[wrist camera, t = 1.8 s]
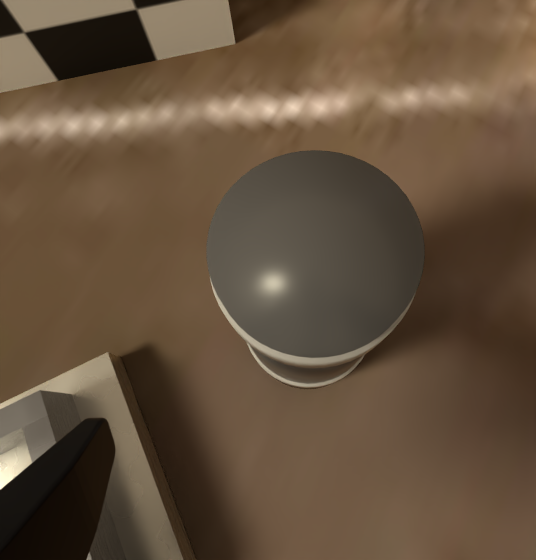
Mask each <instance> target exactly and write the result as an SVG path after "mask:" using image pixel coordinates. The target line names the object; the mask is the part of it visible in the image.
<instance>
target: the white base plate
mask: <svg viewBox="0 0 536 560" xmlns="http://www.w3.org/2000/svg"><path fill="white" fill-rule="evenodd" d="M86 418H105V419H107V421H108V423H109V426H110V429H111V433H112V436H113V439H114V443H115V448H116V452H115V458H114V463H113V467H112V471H111V475H110V479H109V483H108V487H107V492H106V496H105V500H104V504H103V508H102V512H101V516H100V520H99V524H98V528H97V531H96V534H95V537H94V540H93V543H92V546H91V548H90V551H89V554H88V557H87V560H196V557H195V555H194V552H193V549H192V547H191V544H190V541H189V539H188V536H187V533H186V531H185V528H184V525H183V522H182V520H181V517H180V514H179V512H178V509H177V506H176V504H175V501H174V498H173V496H172V493H171V490H170V488H169V485H168V482H167V480H166V477H165V474H164V472H163V469H162V466H161V464H160V461H159V458H158V456H157V453H156V450H155V448H154V445H153V442H152V440H151V437H150V434H149V431H148V429H147V426H146V423H145V421H144V418H143V415H142V413H141V410H140V407H139V405H138V402H137V399H136V397H135V394H134V391H133V389H132V386H131V383H130V381H129V378H128V375H127V373H126V370H125V367H124V365H123V362H122V359H121V357H119V356H117V355H114V354H111V353H108V352H107V353H105V354H103V355H101V356H99V357H97V358H95V359H93V360H90V361H88V362H86V363H84V364H82V365H80V366H78V367H76V368H74V369H72V370H70V371H68V372H66V373H63V374H61V375H59V376H57V377H55V378H53V379H51V380H49V381H47V382H45V383H43V384H41V385H39V386H36V387H34V388H32V389H30V390H28V391H26V392H24V393H22V394H20V395H18V396H16V397H14V398H12V399H9V400H7V401H5V402H3V403H1V404H0V489H1V488H3V487H4V486H5V485H6V484H7V483H9V482H10V481H11V480H12V479H13V478H15V477H16V476H17V475H18V474H19V473H21V472H22V471H23V470H24V469H25V468H27V467H28V466H29V465H30V464H31V463H33V462H34V461H35V460H36V459H37V458H39V457H40V456H41V455H42V454H43V453H45V452H46V451H47V450H48V449H49V448H51V447H52V446H53V445H54V444H55V443H57V442H58V441H59V440H60V439H61V438H63V437H64V436H65V435H66V434H67V433H69V432H70V431H71V430H72V429H73V428H75V427H76V426H77V425H78V424H79V423H81V422H82V421H83V420H84V419H86Z"/></svg>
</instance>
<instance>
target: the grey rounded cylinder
mask: <svg viewBox="0 0 536 560" xmlns="http://www.w3.org/2000/svg"><path fill="white" fill-rule="evenodd" d="M207 264H208V271H209V274H210V280H211V285H212V288H213V292H214V295H215V297H216V299H217V302H218V304H219V306H220V308H221V310H222V311H223V313H224V315H225V316H226V318H227V319H228V321H229V322H230V324H231V325H232V326H233V328H234V329H235V330H236V331H237V333H238V334H239V335H240V336H241V338H242V339H244V340H245V341H246V342H247V344H248V347H249V349H250V351H251V353H252V354H253V356H254V358H255V359H256V361H257V362H258V363H259V364H260V366H261V367H262V368H263V369H264V370H265V371H266V372H267V373H268V374H270V375H271V376H272V377H274V378H275V379H277V380H278V381H280V382H282V383H284V384H286V385H289V386H291V387H295V388H300V389H316V388H321V387H324V386H327V385H330V384H332V383H334V382H336V381H339V380H340V379H342V378H343V377H345V376H346V375H348V374H349V373H350V372H351V371H352V370H353V369H354V368H355V367H356V366H357V365H358V364H359V363H360V362H361V360H362V359H363V357H364V356H365V354H366V353H367V352H369V351H370V350H372V349H373V348H374V347H376V346H377V345H378V344H379V343H380V342H381V341H382V340H384V339H385V338H386V337H387V336H388V335H389V334H390V333H391V332H392V331H393V329H394V328H395V327H396V326H397V325H398V324H399V322H400V321H401V320H402V319H403V317H404V315H405V314H406V312H407V311H408V309H409V307H410V305H411V303H412V301H413V298H414V296H415V293H416V290H417V288H418V286H419V282H420V279H421V276H422V272H423V265H424V239H423V232H422V228H421V225H420V222H419V218H418V216H417V214H416V212H415V210H414V208H413V206H412V204H411V203H410V201H409V199H408V198H407V196H406V195H405V194H404V192H403V191H402V190H401V189H400V188H399V186H398V185H397V184H396V183H395V182H394V181H393V180H391V179H390V178H389V177H388V176H387V175H386V174H384V173H383V172H382V171H380V170H379V169H377V168H376V167H374V166H372V165H370V164H368V163H367V162H365V161H362V160H360V159H357V158H355V157H352V156H349V155H345V154H342V153H336V152H330V151H316V150H312V151H299V152H294V153H289V154H285V155H282V156H278V157H275V158H273V159H270V160H268V161H266V162H263V163H262V164H260V165H258V166H256V167H255V168H253V169H251V170H250V171H249V172H247V173H246V174H245V175H243V176H242V177H241V178H240V179H239V180H238V181H237V182H236V183H235V184H234V185H233V186H232V187H231V188H230V189H229V191H228V192H227V193H226V194H225V196H224V197H223V199H222V200H221V202H220V204H219V205H218V207H217V209H216V211H215V214H214V216H213V218H212V221H211V225H210V228H209V232H208V239H207Z"/></svg>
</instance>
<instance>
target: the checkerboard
mask: <svg viewBox="0 0 536 560" xmlns="http://www.w3.org/2000/svg"><path fill="white" fill-rule="evenodd" d="M232 44H235V38H234V32H233V26H232V20H231V14H230V8H229V2H228V0H0V93H1V92H6V91H11V90H16V89H21V88H26V87H30V86H35V85H40V84H45V83H50V82H54V81H59V80H64V79H69V78H74V77H78V76H83V75H88V74H93V73H98V72H103V71H107V70H112V69H117V68H122V67H127V66H131V65H136V64H141V63H146V62H151V61H155V60H160V59H165V58H170V57H175V56H180V55H184V54H189V53H194V52H199V51H204V50H208V49H213V48H218V47H223V46H228V45H232Z"/></svg>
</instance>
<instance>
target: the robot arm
mask: <svg viewBox="0 0 536 560" xmlns="http://www.w3.org/2000/svg"><path fill="white" fill-rule="evenodd" d="M115 452H116V448H115V443H114V439H113V436H112V433H111V429H110V426H109V423H108V421H107V419H105V418H86V419H84V420H83V421H82V422H81V423H79V424H78V425H77V426H76V427H75V428H73V429H72V430H71V431H70V432H69V433H67V434H66V435H65V436H64V437H63V438H61V439H60V440H59V441H58V442H57V443H55V444H54V445H53V446H52V447H51V448H49V449H48V450H47V451H46V452H45V453H43V454H42V455H41V456H40V457H39V458H37V459H36V460H35V461H34V462H33V463H31V464H30V465H29V466H28V467H27V468H25V469H24V470H23V471H22V472H21V473H19V474H18V475H17V476H16V477H15V478H13V479H12V480H11V481H10V482H9V483H7V484H6V485H5V486H4V487H3V488H1V489H0V560H87V557H88V554H89V551H90V548H91V546H92V543H93V540H94V537H95V534H96V531H97V528H98V524H99V520H100V516H101V512H102V508H103V504H104V500H105V496H106V492H107V487H108V483H109V479H110V475H111V471H112V467H113V463H114V458H115Z"/></svg>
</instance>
